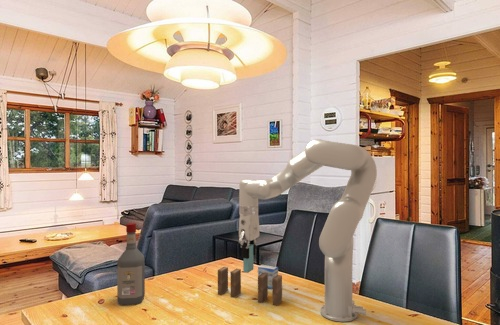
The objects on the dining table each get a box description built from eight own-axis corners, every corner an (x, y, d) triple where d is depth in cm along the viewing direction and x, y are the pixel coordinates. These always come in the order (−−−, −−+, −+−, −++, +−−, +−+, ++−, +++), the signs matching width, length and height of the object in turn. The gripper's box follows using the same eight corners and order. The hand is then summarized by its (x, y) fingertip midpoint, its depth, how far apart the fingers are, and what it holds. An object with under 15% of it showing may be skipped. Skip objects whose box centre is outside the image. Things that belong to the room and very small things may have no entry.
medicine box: (257, 286, 148) (257, 266, 148) (262, 283, 152) (261, 264, 152) (274, 290, 145) (274, 269, 145) (278, 286, 148) (278, 266, 148)
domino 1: (228, 291, 143) (228, 267, 143) (221, 295, 139) (221, 270, 139) (223, 290, 144) (223, 266, 144) (217, 294, 140) (217, 270, 140)
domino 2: (240, 293, 141) (240, 269, 141) (234, 297, 136) (234, 272, 136) (236, 292, 141) (236, 268, 141) (230, 297, 137) (230, 272, 137)
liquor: (141, 305, 129) (141, 225, 129) (116, 306, 128) (115, 226, 128) (145, 295, 139) (145, 221, 139) (122, 296, 137) (121, 222, 137)
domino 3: (253, 269, 138) (253, 244, 138) (247, 272, 134) (248, 247, 134) (249, 268, 139) (249, 243, 139) (243, 272, 134) (243, 246, 134)
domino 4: (267, 298, 135) (267, 273, 135) (262, 303, 131) (262, 277, 131) (263, 297, 136) (263, 272, 136) (257, 302, 132) (257, 276, 132)
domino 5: (282, 301, 133) (282, 275, 133) (277, 306, 128) (277, 279, 128) (277, 300, 134) (277, 274, 134) (272, 305, 129) (272, 278, 129)
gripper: (247, 214, 127) (247, 263, 127) (265, 208, 142) (265, 252, 142) (230, 212, 130) (229, 260, 130) (249, 207, 145) (249, 250, 146)
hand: (248, 255), depth 136 cm, fingers closed on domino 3, 4 cm apart
